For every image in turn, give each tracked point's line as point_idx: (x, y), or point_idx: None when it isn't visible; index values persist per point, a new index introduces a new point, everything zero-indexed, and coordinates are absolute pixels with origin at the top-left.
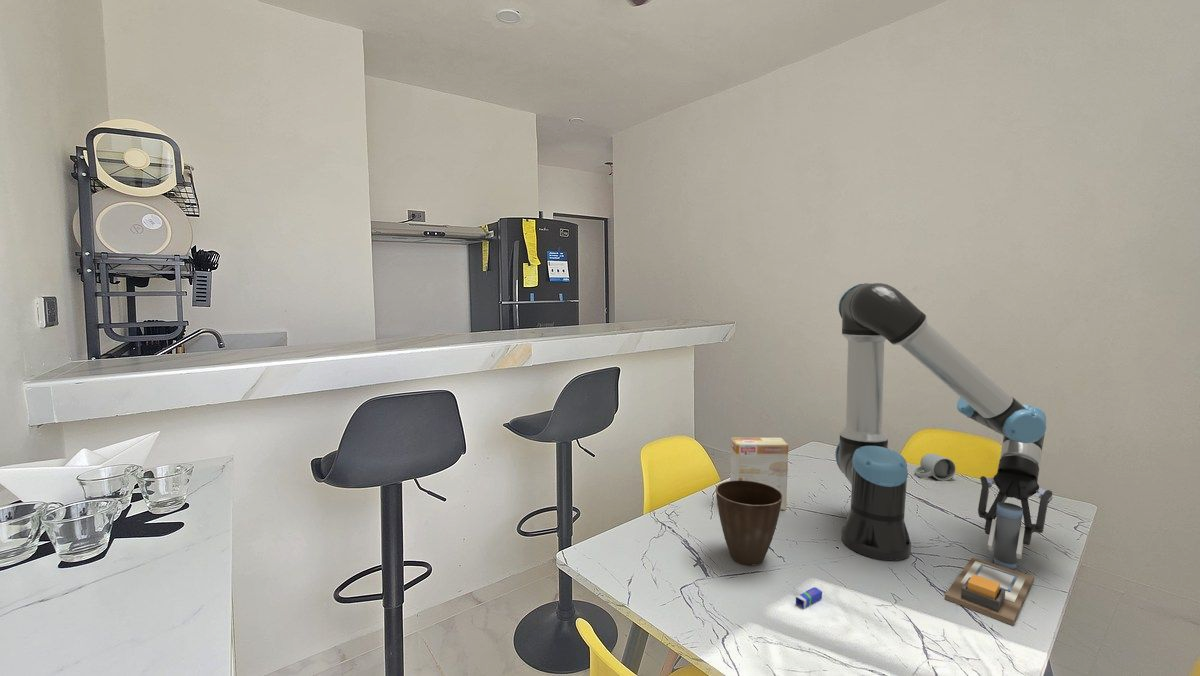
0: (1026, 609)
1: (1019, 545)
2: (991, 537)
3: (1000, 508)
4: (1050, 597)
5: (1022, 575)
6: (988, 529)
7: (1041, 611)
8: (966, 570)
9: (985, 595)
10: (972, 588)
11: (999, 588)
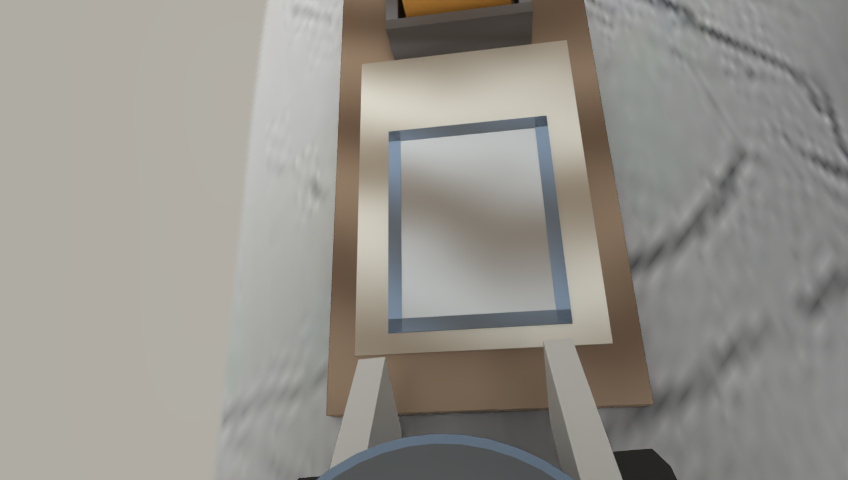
0: (330, 106)
1: (362, 403)
2: (569, 385)
3: (565, 476)
4: (260, 293)
5: None
6: (633, 469)
7: (284, 137)
8: (598, 184)
9: None
10: None
11: (403, 3)
